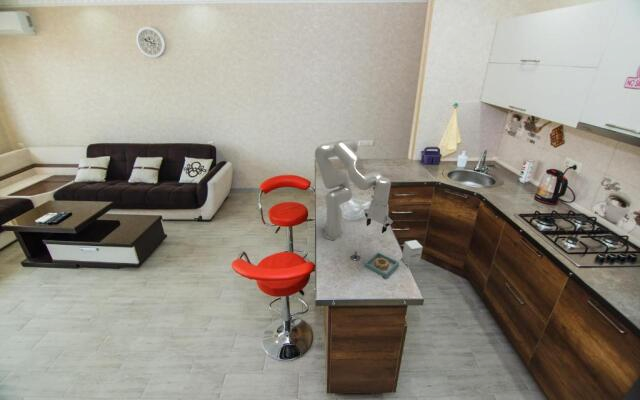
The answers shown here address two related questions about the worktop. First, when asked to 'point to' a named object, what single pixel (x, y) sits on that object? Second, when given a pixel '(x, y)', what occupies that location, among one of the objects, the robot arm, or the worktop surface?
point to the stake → (355, 257)
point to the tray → (380, 270)
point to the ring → (381, 266)
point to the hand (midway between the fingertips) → (375, 228)
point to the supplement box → (412, 253)
